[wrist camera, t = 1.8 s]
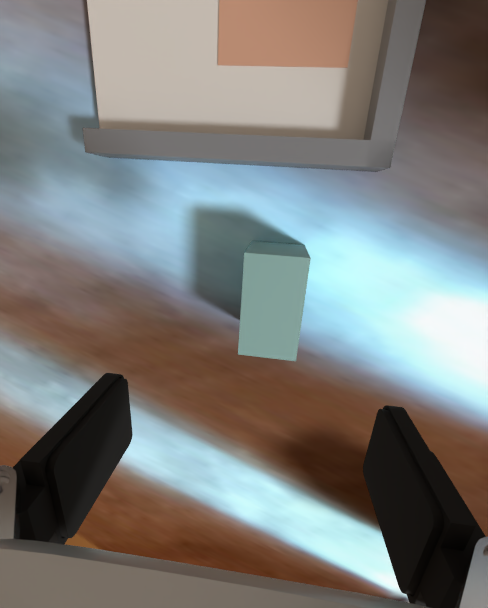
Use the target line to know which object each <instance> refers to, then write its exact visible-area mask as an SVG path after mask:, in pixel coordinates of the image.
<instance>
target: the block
mask: <svg viewBox="0 0 488 608" xmlns="http://www.w3.org/2000/svg"><path fill="white" fill-rule="evenodd" d="M309 264H310V256H309V254H308V252H307V249H306V247H305V245H300V244H287V243H274V242H261V241H252V242H251V244H250V245H249V247H248V248H247V249H246V251H245V252H244V264H243V280H242V297H241V314H240V331H239V347H238V354H240V355H248V356H257V357H265V358H274V359H282V360H291V361H296V357H297V350H298V343H299V336H300V328H301V321H302V314H303V307H304V300H305V293H306V286H307V279H308V272H309Z"/></svg>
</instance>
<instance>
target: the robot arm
mask: <svg viewBox="0 0 488 608" xmlns="http://www.w3.org/2000/svg"><path fill="white" fill-rule="evenodd" d="M131 439H132V425H131V414H130V403H129V392H128V382H127V379H124V377H123V375H121V374H113V373H106V374H104V375H103V376H102V377H101V378H100V379H99V380H98V381H97V382H96V383H95V384H94V385H93V386H92V387H91V388H90V389H89V390H88V391H87V392H86V393H85V395H84V396H83V397H82V398H81V399H80V400H79V401H78V402H77V403H76V404H75V405H74V406H73V407H72V408H71V409H70V410H69V411H68V412H67V413H66V414H65V415H64V416H63V417H62V418H61V419H60V420H59V421H58V422H57V423H56V424H55V425H54V426H53V427H52V428H51V429H50V430H49V431H48V432H47V433H46V434H45V435H44V436H43V437H42V438H41V439H40V440H39V441H38V442H37V443H36V444H35V445H34V446H33V447H32V448H31V449H30V450H29V451H28V452H27V453H26V454H25V455H24V456H23V457H22V458H21V459H20V461H19V462H18V463H17V464H16V465H15V466H14V467H13V468H12V467H9V466H5V465H2V466H0V608H488V537H486V536H485V535H484V533H483V532H482V530H481V528H480V527H479V525H478V523H477V522H476V520H475V519H474V517H473V515H472V514H471V512H470V511H469V509H468V507H467V506H466V504H465V502H464V501H463V499H462V498H461V496H460V494H459V493H458V491H457V490H456V488H455V486H454V485H453V483H452V481H451V480H450V478H449V477H448V475H447V473H446V472H445V470H444V469H443V467H442V465H441V464H440V462H439V460H438V459H437V457H436V456H435V455H434V453H433V452H431V451H430V450H429V448H428V447H427V445H426V443H425V442H424V440H423V439H422V437H421V435H420V434H419V432H418V430H417V429H416V427H415V425H414V424H413V422H412V420H411V419H410V417H409V416H408V414H407V412H406V411H405V409H404V408H402V407H395V406H387V405H386V406H384V407H383V409H379V410H378V413H377V416H376V420H375V424H374V427H373V431H372V435H371V439H370V442H369V446H368V450H367V453H366V457H365V461H364V465H363V473H364V477H365V481H366V484H367V487H368V490H369V493H370V496H371V500H372V503H373V506H374V509H375V512H376V516H377V519H378V522H379V525H380V528H381V531H382V535H383V538H384V541H385V544H386V547H387V550H388V554H389V557H390V560H391V563H392V566H393V569H394V573H395V576H396V579H397V582H398V585H399V588H400V590H401V592H402V593H404V594H407V596H408V599H409V602H410V603H407V602H401V601H396V600H391V599H386V598H381V597H376V596H371V595H365V594H360V593H355V592H349V591H343V590H337V589H332V588H326V587H320V586H314V585H309V584H303V583H297V582H291V581H286V580H280V579H274V578H268V577H262V576H256V575H250V574H245V573H239V572H233V571H227V570H221V569H215V568H209V567H203V566H197V565H191V564H185V563H179V562H173V561H167V560H161V559H154V558H148V557H142V556H136V555H129V554H123V553H117V552H111V551H105V550H98V549H92V548H86V547H78V546H71V545H64V544H65V542H66V541H67V539H68V538H72V537H73V536H74V535H75V534H76V532H77V531H78V529H79V527H80V526H81V524H82V522H83V521H84V519H85V517H86V516H87V514H88V512H89V511H90V509H91V507H92V506H93V504H94V502H95V501H96V499H97V497H98V496H99V494H100V492H101V491H102V489H103V488H104V486H105V484H106V483H107V481H108V479H109V478H110V476H111V474H112V473H113V471H114V469H115V468H116V466H117V464H118V463H119V461H120V459H121V458H122V456H123V454H124V453H125V451H126V449H127V448H128V446H129V444H130V442H131Z"/></svg>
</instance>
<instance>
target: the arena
mask: <svg viewBox="0 0 488 608" xmlns="http://www.w3.org/2000/svg"><path fill="white" fill-rule="evenodd" d="M425 3H426V0H87V5H88V15H89V25H90V36H91V46H92V56H93V66H94V76H95V86H96V96H97V106H98V116H99V126H100V129H98V128H83V135H84V144H85V152H86V153H91V154H95V155H99V156H104V157H109V158H128V159H146V160H165V161H184V162H203V163H222V164H241V165H260V166H279V167H297V168H316V169H335V170H354V171H373V172H378V171H381V170H385V169H388V168H390V166H391V162H392V157H393V152H394V148H395V143H396V138H397V134H398V129H399V124H400V120H401V115H402V110H403V106H404V101H405V96H406V91H407V87H408V82H409V77H410V73H411V68H412V63H413V59H414V54H415V49H416V45H417V40H418V35H419V31H420V26H421V21H422V17H423V12H424V7H425Z"/></svg>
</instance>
